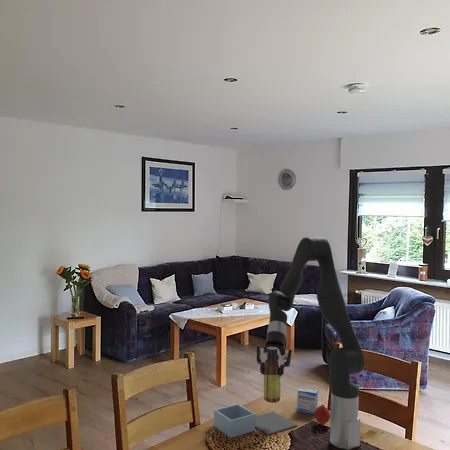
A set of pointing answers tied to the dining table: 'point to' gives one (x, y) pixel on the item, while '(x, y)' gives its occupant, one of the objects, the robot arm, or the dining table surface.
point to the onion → (322, 414)
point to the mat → (273, 423)
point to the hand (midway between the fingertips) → (271, 374)
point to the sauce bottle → (271, 376)
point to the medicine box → (307, 400)
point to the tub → (234, 420)
